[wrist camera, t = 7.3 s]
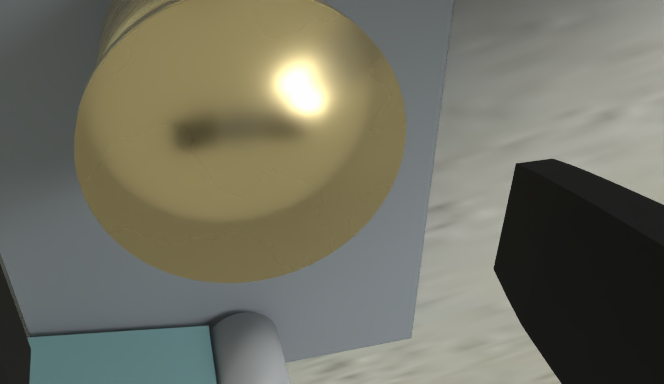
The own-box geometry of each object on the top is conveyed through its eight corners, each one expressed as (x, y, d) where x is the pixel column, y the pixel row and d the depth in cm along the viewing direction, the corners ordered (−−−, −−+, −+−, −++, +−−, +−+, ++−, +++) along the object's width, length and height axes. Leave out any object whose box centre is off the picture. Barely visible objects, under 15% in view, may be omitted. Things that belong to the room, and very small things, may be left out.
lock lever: (281, 310, 21) (297, 371, 19) (272, 359, 22) (288, 422, 20) (13, 326, 19) (-2, 398, 16) (21, 380, 20) (7, 455, 18)
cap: (344, -75, 14) (420, -20, 10) (338, 154, 17) (394, 258, 13) (63, -65, 12) (34, 2, 9) (114, 182, 15) (108, 305, 12)
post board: (515, -685, 11) (600, -787, 9) (402, 319, 25) (425, 367, 23) (-376, -871, 8) (-541, -1081, 6) (58, 384, 22) (51, 445, 20)
